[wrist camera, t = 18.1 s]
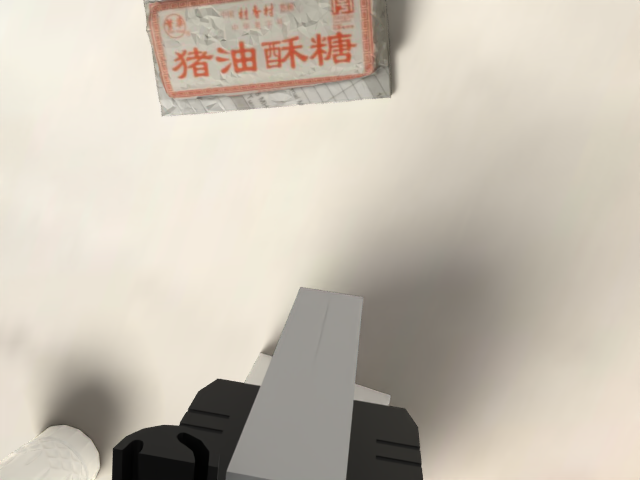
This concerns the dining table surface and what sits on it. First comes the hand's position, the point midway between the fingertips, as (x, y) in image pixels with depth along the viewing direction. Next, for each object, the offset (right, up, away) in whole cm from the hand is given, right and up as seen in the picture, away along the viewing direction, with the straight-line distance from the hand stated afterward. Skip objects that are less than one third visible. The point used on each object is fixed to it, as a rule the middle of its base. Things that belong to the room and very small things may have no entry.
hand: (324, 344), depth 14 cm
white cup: (-24, -18, +41) cm, 51 cm away
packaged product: (-4, +18, +29) cm, 34 cm away
